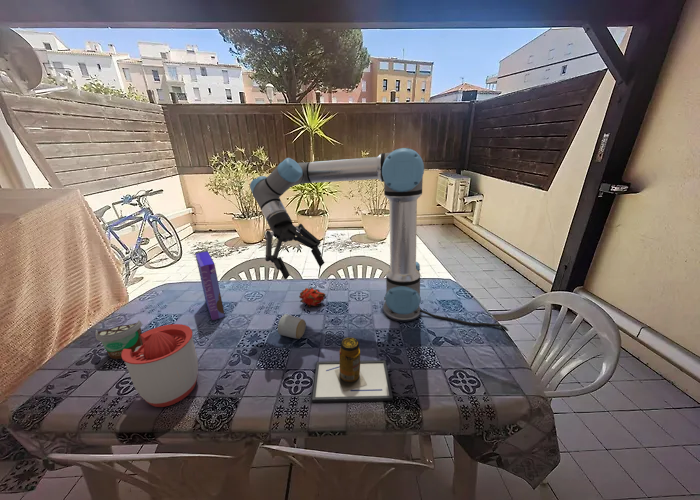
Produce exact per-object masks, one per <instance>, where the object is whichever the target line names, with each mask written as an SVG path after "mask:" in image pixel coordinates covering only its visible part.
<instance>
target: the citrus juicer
mask: <svg viewBox="0 0 700 500" xmlns="http://www.w3.org/2000/svg"><path fill="white" fill-rule="evenodd" d="M140 335H141V339H142V343H143V345H142V346H139V347H136V349H135V351H134V352H132V350H131V349H123V351H122V354H121V357H122V361H123V362H124V364H125V366H126V369H127V372H128V374H129V377H130V380H131V382H132V384H133V387H134V388H135V391H136V392H137V394H138V395H139V396H140V397H141V398H142V399H143V401H145V402H146V404H149V405H150V406H152V407H155V408H165V407H170V406H173V405H175V404H177V403H179V402H180V401H182V400H184V399H185V398H186V397H188V396H189V395H190V394H191V393H192V392H193V390H194V389H195V387H196V385H197V381H198V378H199V377H198V376H199V358H198V353H197V351H196V345H195V341H194V338H193V329H192V328H191V327H190V326H188V325H185V324H182V323H172V324H171V323H170V324H165V325H160V326H156V327H154V328H151V329H149V330H146V331H144V332H142V334H140Z"/></svg>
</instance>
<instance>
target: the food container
mask: <svg viewBox="0 0 700 500" xmlns="http://www.w3.org/2000/svg"><path fill="white" fill-rule="evenodd" d="M142 327H143V323H142V321H141V320H140V319H137V322H135V323H130V324H123V325H117V326H115V327H112V328H108V329H105V330H100V331H98V329H95V339H96V341H98V342H101V344H102V345H103V348H104V349H105V351H106V354H108V356H109V358H111V359H113V360H121V359H122V357H121V354H122V351H123V349H131V350H132V352H134V351H135V349H136V347H139V346H142V345H143V343H142V339H141V335H140V334H142V333H143V332H142ZM122 360H123V359H122Z"/></svg>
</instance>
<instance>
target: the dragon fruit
mask: <svg viewBox="0 0 700 500" xmlns="http://www.w3.org/2000/svg"><path fill="white" fill-rule="evenodd" d="M298 297H299V299H300V303H302V304H306V305H307V306H308V307H309V308H311V307H312V306H315V307H319V306H321V305H322V302H324V300H325V299H326V298H327V295H326V293H325V292H321V291H320V289H318V288H317V289H316V288H314V287H306V288H304V289H303V290H302V291H301V292H299V295H298Z"/></svg>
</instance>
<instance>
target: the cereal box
mask: <svg viewBox="0 0 700 500" xmlns="http://www.w3.org/2000/svg"><path fill="white" fill-rule="evenodd" d="M194 255H195V259H196V265H197V269H198V273H199V277H200V282H201V286H202V291H203V295H204V300H205V304H206V307H207V310H208V313H209V316H210V319H211V321H213V322H214V321H216V320H220V319H223V318H226V315H225V311H224V306H223V305H224V304H223V300H222V295H221V290H220V289H221V288H220V283H219V280H218V274H217V269H216V263H215V261H214V260H213V258H212V255H211V254H210V253H209V250H202V251H198V252H195V253H194Z"/></svg>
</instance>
